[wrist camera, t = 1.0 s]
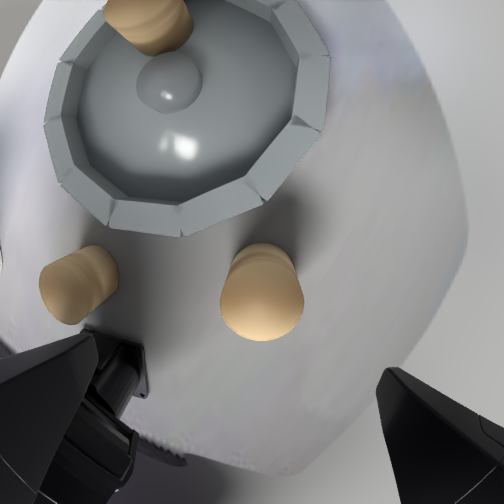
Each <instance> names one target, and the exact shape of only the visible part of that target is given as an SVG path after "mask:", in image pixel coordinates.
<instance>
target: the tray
mask: <svg viewBox="0 0 504 504" xmlns="http://www.w3.org/2000/svg"><path fill="white" fill-rule="evenodd" d="M183 1H184V3H185V5H186V7H187V9H188V11H189V13H190V15H191V17H192V20H193V23H194V28H193V32H192V34H191V36H190V38H189V39H188V40H187V42H186V43H185V44H184V45H183V46H181V47H180V48H179V49H177V50H175V51H174V52H166V53H163V54H160V55H158V56H156V57H152V56H146V55H144V54H142V53H141V52H140V51H139V50H137V49H136V48H135V47H134V46H133V45H132V44H131V43H130V42H129V41H128V40H127V39H125V38H124V37H123V36H122V35H121V34H120V33H119V32H118V31H117V30H115V29H114V28H113V27H112V26H111V25H110V24H109V23H107V22H106V20H105V18H104V9H105V6H106V5H104V6H103V7H102V10H103V11H102V10H98V11H97V12H96V13H95V14H94V16H93V17H92V18H91V19H90V20H89V21H88V23H87V24H86V25H85V26H84V27H83V29H82V30H81V31H80V32H79V34H78V35H77V36H76V37H75V39H74V40H73V41H72V43H71V44H70V45H69V47H68V48H67V50H66V51H65V52H64V54H63V55H62V57H61V58H60V61H62V62H60V63H58V64H57V67H56V70H55V74H54V78H53V81H52V85H51V89H50V93H49V98H48V102H47V107H46V112H45V117H44V123H46V124H45V125H44V130H45V135H46V139H47V143H48V147H49V151H50V155H51V159H52V162H53V166H54V169H55V172H56V176H57V179H58V182H62V183H61V185H60V186H61V187H62V188H64V189H65V190H66V191H67V192H68V193H69V194H70V195H71V196H72V197H73V198H74V199H75V200H76V201H78V202H79V203H80V204H81V205H82V206H83V207H84V208H85V209H86V210H88V211H89V212H90V213H91V214H92V215H93V216H94V217H95V218H97V219H98V220H99V221H100V222H101V223H102V224H103V225H105V226H108V225H109V228H113V229H121V230H128V231H135V232H142V233H150V234H157V235H164V236H171V237H179V238H180V237H181V236H183V235H184V237H186V236H188V235H190V234H193V233H195V232H198V231H200V230H202V229H205V228H207V227H209V226H212V225H214V224H217V223H219V222H221V221H224V220H226V219H229V218H231V217H234V216H236V215H238V214H241V213H243V212H246V211H248V210H251V209H253V208H256V207H258V206H261V205H263V199H265V200H266V201H268V200H269V199H270V198H271V196H272V195H273V194H274V193H275V191H276V190H277V189H278V188H279V186H280V185H281V184H282V183H283V181H284V180H285V179H286V178H287V176H288V175H289V174H290V173H291V172H292V170H293V169H294V168H295V167H296V165H297V164H298V163H299V162H300V160H301V159H302V158H303V157H304V156H305V154H306V153H307V152H308V151H309V149H310V148H311V147H312V146H313V145H314V143H315V142H316V141H317V140H318V139H319V137H320V136H321V134H320V133H321V132H322V131H323V129H324V121H325V112H326V103H327V94H328V84H329V73H330V61H331V58H330V57H328V56H329V54H330V53H329V51H328V50H327V48H326V46H325V44H324V43H323V41H322V39H321V37H320V36H319V34H318V33H317V31H316V29H315V28H314V26H313V24H312V23H311V21H310V20H309V18H308V17H307V15H306V14H305V12H304V11H303V9H302V8H301V6H300V5H299V3H298V2H297V1H296V0H183ZM262 198H263V199H262Z"/></svg>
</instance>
